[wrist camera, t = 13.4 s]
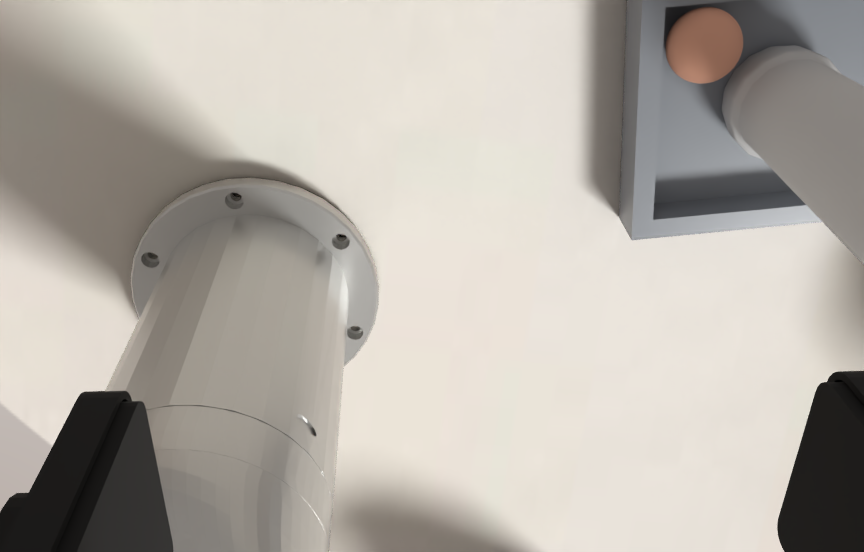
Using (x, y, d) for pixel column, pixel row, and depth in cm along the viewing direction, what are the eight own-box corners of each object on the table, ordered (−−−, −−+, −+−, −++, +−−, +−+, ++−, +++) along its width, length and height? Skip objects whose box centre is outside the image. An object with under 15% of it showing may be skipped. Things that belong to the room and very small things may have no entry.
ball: (724, 67, 38) (750, 89, 35) (654, 74, 38) (675, 96, 35) (731, -4, 36) (759, 12, 33) (658, 3, 36) (680, 20, 33)
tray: (890, 191, 42) (917, 212, 40) (619, 217, 42) (631, 240, 40) (944, -57, 36) (979, -48, 34) (627, -26, 36) (642, -15, 34)
